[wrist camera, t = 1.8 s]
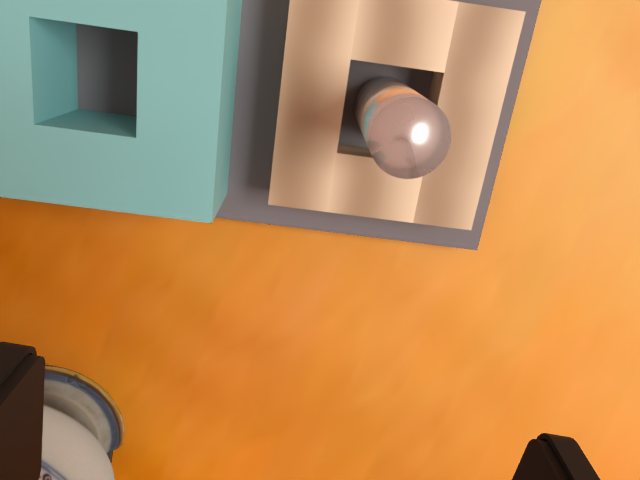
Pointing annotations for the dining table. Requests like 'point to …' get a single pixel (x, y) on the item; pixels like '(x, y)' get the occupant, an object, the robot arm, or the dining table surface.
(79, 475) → the apothecary jar
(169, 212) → the teal dock
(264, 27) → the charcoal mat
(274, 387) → the dining table surface
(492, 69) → the ash mount
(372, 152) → the steel pin
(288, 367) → the dining table surface
